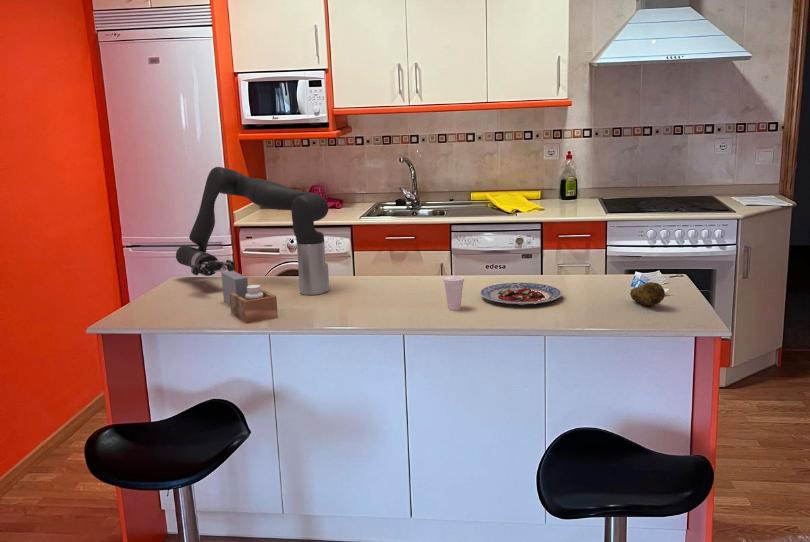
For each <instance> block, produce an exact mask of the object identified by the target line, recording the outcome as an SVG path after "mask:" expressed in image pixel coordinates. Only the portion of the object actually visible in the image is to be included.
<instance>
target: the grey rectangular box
mask: <svg viewBox="0 0 810 542" xmlns="http://www.w3.org/2000/svg"><path fill="white" fill-rule="evenodd" d="M220 274H221V283H222V294H223V295H222V296H223V302H224V303H225V304H226V305H228V306H230V307H231V305H230V293H235V294H237V295H239V296H240V297H242V298H244V299H246V298H245V296H246V294H247V293H248V291H247V286H249V283H248V282H249V281H248V277H247V276H244V275H242V273H238V272H237V271H235V270H233V271H228V270H227V271H224V272H221V273H220Z"/></svg>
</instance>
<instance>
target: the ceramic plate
mask: <svg viewBox="0 0 810 542" xmlns="http://www.w3.org/2000/svg"><path fill="white" fill-rule="evenodd" d="M531 290H532V291H531ZM533 290H534V291H533ZM535 291H537V292H535ZM538 291H541V292H544V293H547V294H548V295H549V298H548V299H545V300H541V299H542V298H545V296H544V295H543V294H542V293H540V292H538ZM479 292H480V293H479V294H480V296H481V297H483V298H484V299H486V300H489V301H492V302H497V303H500V302H501V303H500V304H504V303H508V304H507V305H510V304H534V303H539V304H543V303H547V302H552V301H555V300H557V299H559V298H561V297H562V295H563V292H562V291H561V290H560V288H557V287H555V286H553V285H548V284H542V283H536V282H505V283H504V282H503V283H497V284H492V285H489V286H486V287H484V288H482V289H481V290H480V291H479ZM538 300H540V301H538ZM534 305H535V304H534Z"/></svg>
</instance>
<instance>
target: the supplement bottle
mask: <svg viewBox="0 0 810 542" xmlns="http://www.w3.org/2000/svg"><path fill="white" fill-rule="evenodd" d="M260 288H261V285H260V284H251V285H250V284H249V285H248V286H247V291H248V293H247V294H246V296H245V298H246V300H252V299H258V298H264V297H263V293H262V292H260V290H261V289H262V288H261V289H260Z"/></svg>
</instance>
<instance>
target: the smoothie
mask: <svg viewBox="0 0 810 542" xmlns="http://www.w3.org/2000/svg"><path fill="white" fill-rule="evenodd" d="M452 267H453V268H452V273H453V274H452V275H448V276H445V277H443V283H444V288H445V295H446V303H447V310H449V311H459V310H461V305H462V297H463V289H464V282H465V277H464V276H461V275H456V264H455V263H453V264H452Z"/></svg>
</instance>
